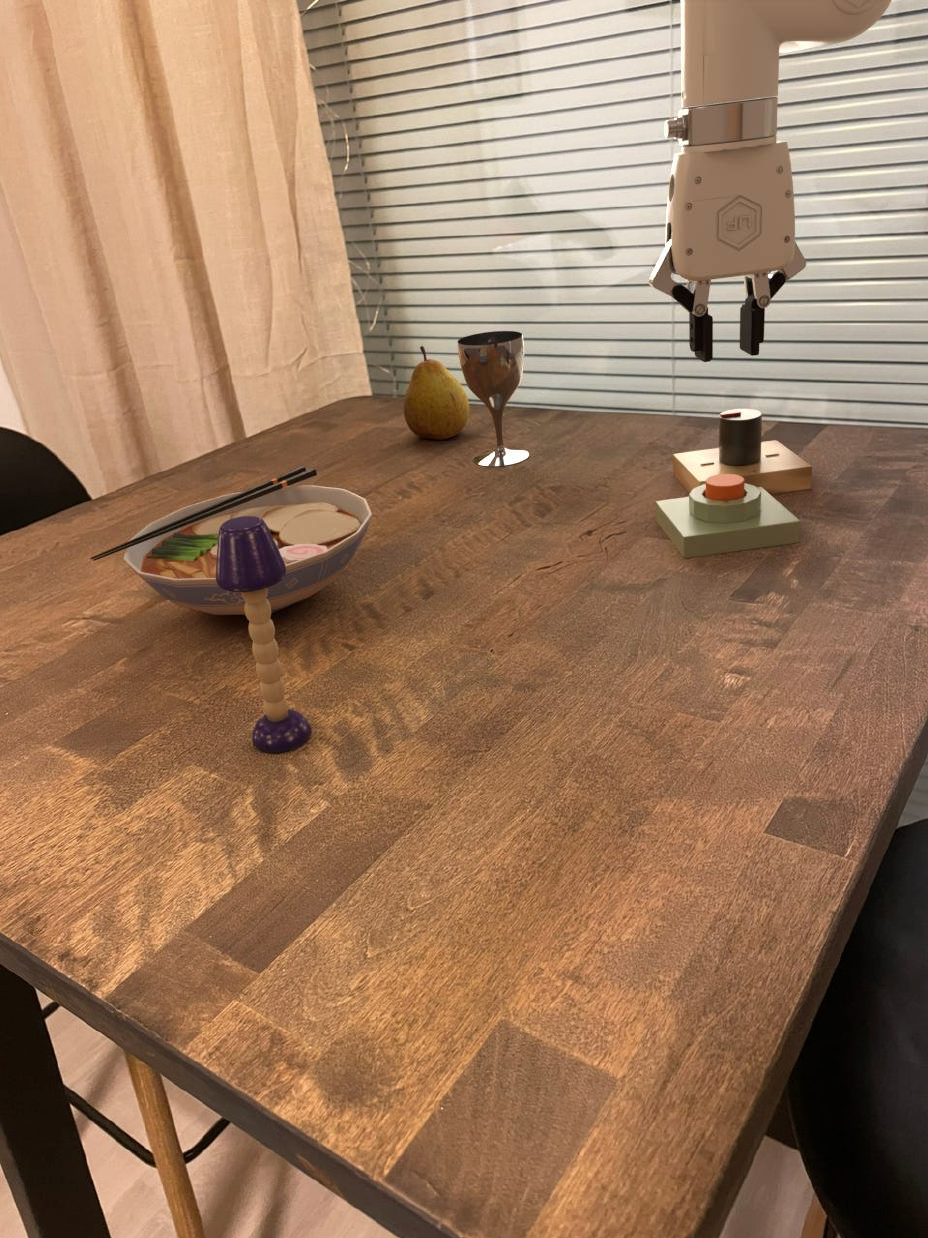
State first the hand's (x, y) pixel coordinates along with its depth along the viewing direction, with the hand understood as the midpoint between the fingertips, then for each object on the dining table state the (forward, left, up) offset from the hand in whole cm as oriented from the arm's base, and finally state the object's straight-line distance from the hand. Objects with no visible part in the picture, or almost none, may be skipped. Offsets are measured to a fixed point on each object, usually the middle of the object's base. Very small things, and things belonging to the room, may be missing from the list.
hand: (726, 353), depth 87 cm
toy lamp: (+41, +26, -17) cm, 52 cm away
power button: (0, 0, -14) cm, 14 cm away
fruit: (+25, -47, -17) cm, 56 cm away
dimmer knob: (-6, -13, -15) cm, 21 cm away
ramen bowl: (+45, +1, -17) cm, 48 cm away
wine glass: (+18, -33, -17) cm, 41 cm away
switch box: (0, 0, -17) cm, 17 cm away
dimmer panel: (-6, -13, -17) cm, 22 cm away
